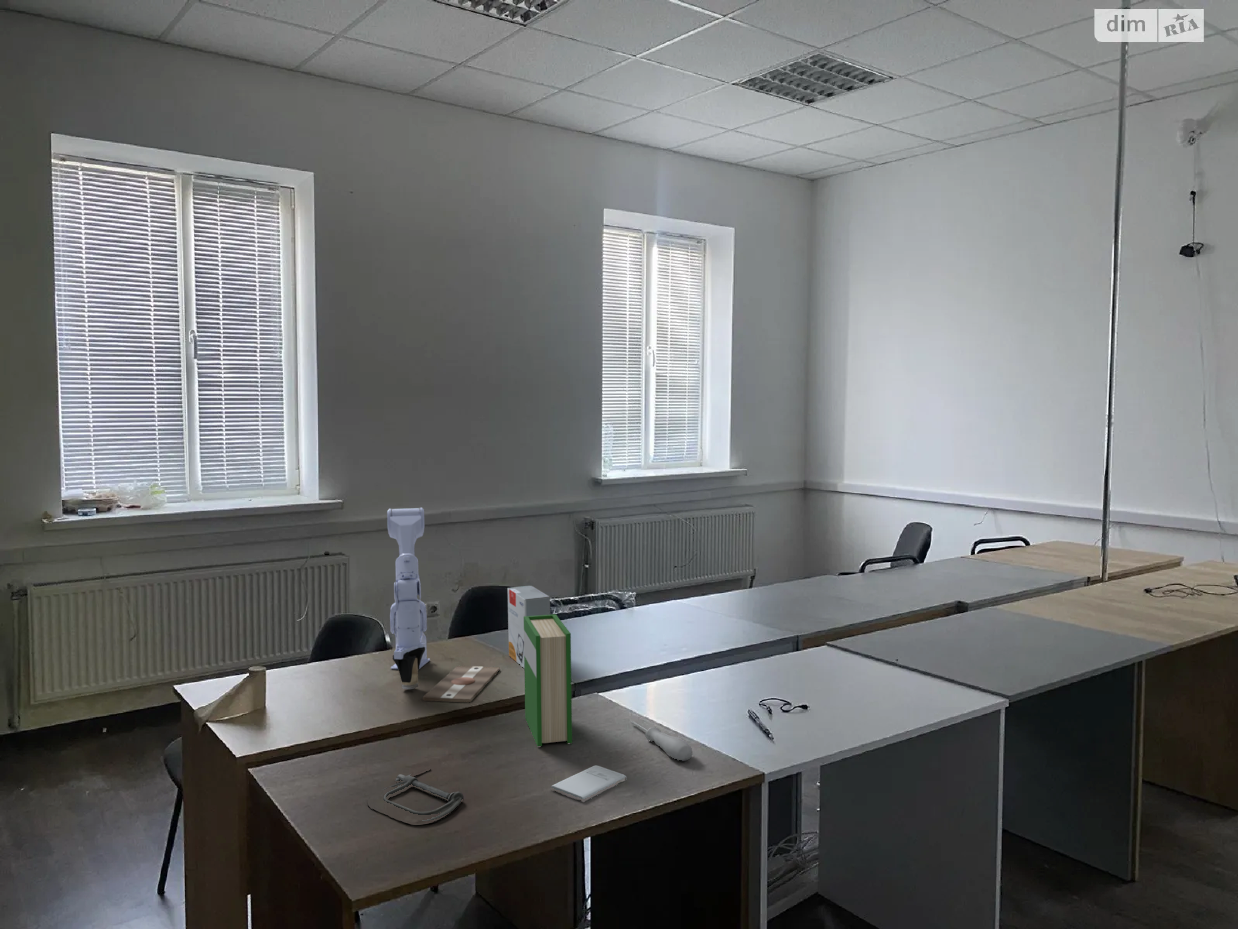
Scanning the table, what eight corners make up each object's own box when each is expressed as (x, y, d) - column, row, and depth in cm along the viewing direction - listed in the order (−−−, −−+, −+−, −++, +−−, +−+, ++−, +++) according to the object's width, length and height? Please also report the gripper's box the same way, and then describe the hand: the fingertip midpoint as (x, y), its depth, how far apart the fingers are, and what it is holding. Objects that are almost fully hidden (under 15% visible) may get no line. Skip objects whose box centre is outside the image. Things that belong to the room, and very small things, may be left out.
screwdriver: (638, 731, 203) (641, 712, 204) (695, 765, 181) (699, 744, 181) (619, 730, 201) (623, 711, 201) (675, 764, 179) (679, 743, 179)
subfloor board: (457, 668, 245) (457, 665, 245) (499, 670, 244) (499, 666, 243) (422, 700, 220) (422, 696, 220) (470, 702, 218) (469, 698, 218)
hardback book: (572, 744, 191) (570, 633, 189) (537, 748, 189) (535, 636, 188) (557, 716, 208) (555, 614, 206) (525, 719, 206) (523, 616, 205)
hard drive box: (507, 656, 257) (506, 587, 256) (533, 653, 260) (532, 585, 259) (525, 671, 243) (524, 598, 241) (552, 667, 246) (551, 595, 245)
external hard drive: (550, 793, 169) (594, 771, 178) (583, 805, 163) (626, 782, 173) (550, 785, 169) (594, 763, 178) (583, 797, 163) (626, 774, 173)
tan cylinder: (405, 683, 230) (404, 657, 229) (420, 684, 229) (419, 657, 229) (399, 689, 226) (398, 661, 225) (414, 689, 225) (413, 662, 225)
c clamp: (350, 800, 166) (350, 786, 166) (429, 771, 179) (428, 758, 179) (412, 836, 153) (412, 821, 152) (492, 802, 165) (492, 788, 165)
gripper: (412, 634, 219) (414, 689, 220) (433, 619, 233) (434, 671, 234) (385, 633, 220) (386, 687, 221) (407, 618, 234) (409, 670, 235)
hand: (409, 679), depth 227 cm, fingers closed on tan cylinder, 4 cm apart
